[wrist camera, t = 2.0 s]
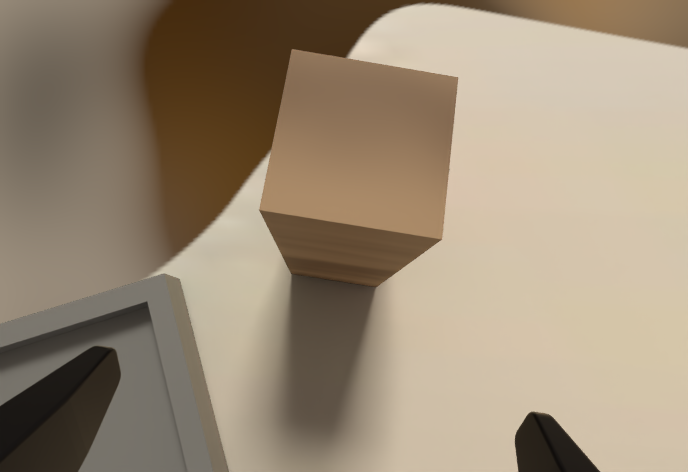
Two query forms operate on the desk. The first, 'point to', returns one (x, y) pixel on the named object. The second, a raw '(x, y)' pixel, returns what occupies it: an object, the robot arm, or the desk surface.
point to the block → (358, 167)
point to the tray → (127, 375)
